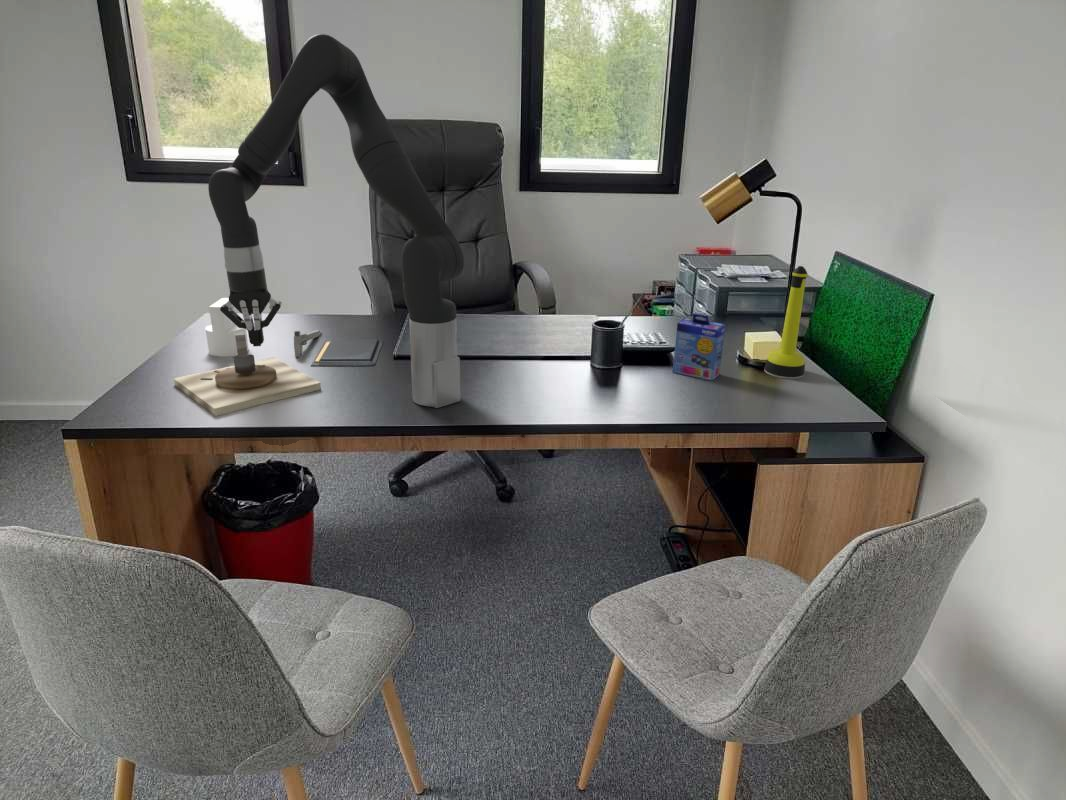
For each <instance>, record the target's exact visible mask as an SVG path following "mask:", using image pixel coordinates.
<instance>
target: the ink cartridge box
mask: <svg viewBox="0 0 1066 800" xmlns="http://www.w3.org/2000/svg"><path fill="white" fill-rule="evenodd" d="M702 318H703V319H702ZM709 319H710V318H709V315H707V314H699V313H692V318H689V317H684V318H682V319H681V320H679V321H678V322H677V325H676V335H675V345H674V353H673V354H674V355H673V365H672V373H673V374H674V373H675V374H679V375H683V376H688V377H693V378H699V379H704V380H708V381H714V380H715V379H716V378H717V377H718V376H720V374H721V365H722V357H723V350H724V349H723V348H724V343H725V341H724V340H725V332H726V331H725V330H726V324H724V323H721V322H715V321H714V322H713V321H710V320H709Z"/></svg>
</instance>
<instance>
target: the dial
mask: <svg viewBox="0 0 1066 800" xmlns="http://www.w3.org/2000/svg"><path fill="white" fill-rule="evenodd" d="M235 338H236V345H237V352H238V355H235V356H232V357H233V366H235V367H232V368H229V369H226V370H223V371H221V372H219V373H218V374H216V376H215V381H216V384H217V385H218V386H220V387H224V388H230V389H246V388H254V387H259V386H262V385H266V384H268V383H270V382H272V381H274V380H275V379H276V377H277V375H276V370H275V369H274V368H272V367H269V366H263V365H255V361H256V360H255V355H254V354H250V353H248V351H247V345H246V338H245V332H242V333H235Z"/></svg>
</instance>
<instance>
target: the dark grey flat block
mask: <svg viewBox="0 0 1066 800" xmlns="http://www.w3.org/2000/svg"><path fill="white" fill-rule="evenodd" d="M383 346H384V341H383V340H382V341H381V340H380V339H377V338H369V339H368V338H351V339H349V338H348V339H347V338H341V339H339V338H335V339H331V340H326V341H324V343H323V345H322V347H321V348H320V350H319V351H318V353H317V355H316V356H315V358H314V360H313V362H312V363H311V364H310V367H311V368H312V367H315V368H316V367H320V368H321V367H326V368H327V367H329V368H331V367H332V368H333V367H336V368H337V367H338V368H342V367H344V368H346V367H347V368H351V367H352V368H354V367H357V368H358V367H359V368H360V367H361V368H364V367H365V368H366V367H367V368H368V367H375V366H376V364H377V362H378V359H379V355H380V353H381V350H382V348H383Z"/></svg>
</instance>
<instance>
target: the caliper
mask: <svg viewBox="0 0 1066 800" xmlns="http://www.w3.org/2000/svg"><path fill="white" fill-rule="evenodd" d="M293 333H294V336H293V349H294V357H295V358H300V357H301V356H303V348H304V347H303V346H306V345H307V344H308V341H311V340H312V339H315V338H319V337H320V335H321V334H322V331H321V330H319V329H316V330H313V331H310V332H307V333H306V332H305V333H301V330H295V331H294V332H293Z"/></svg>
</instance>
